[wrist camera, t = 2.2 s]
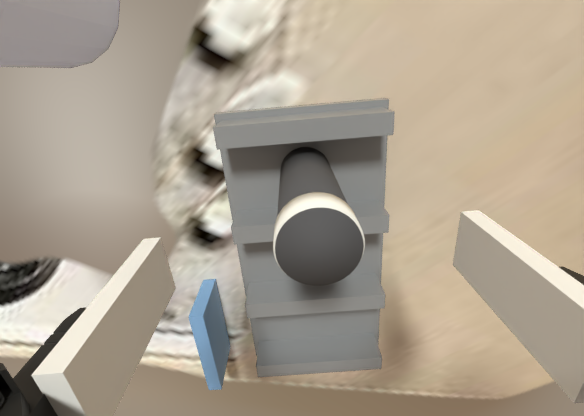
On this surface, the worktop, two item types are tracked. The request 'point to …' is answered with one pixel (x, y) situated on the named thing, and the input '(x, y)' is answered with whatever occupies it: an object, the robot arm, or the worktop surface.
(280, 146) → the grey slotted rack
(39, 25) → the soap bottle
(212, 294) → the blue rectangular block
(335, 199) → the grey banded cylinder
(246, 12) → the worktop surface
